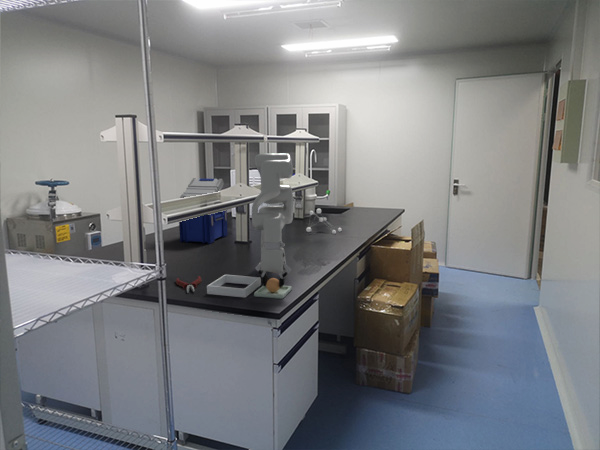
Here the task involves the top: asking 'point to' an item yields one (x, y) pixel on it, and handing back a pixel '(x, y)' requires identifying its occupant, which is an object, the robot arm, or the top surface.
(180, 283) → the pliers
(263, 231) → the robot arm
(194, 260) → the top surface
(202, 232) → the storage box
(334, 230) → the molecule model
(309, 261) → the top surface
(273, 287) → the ball
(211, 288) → the grey square frame
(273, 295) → the tray
